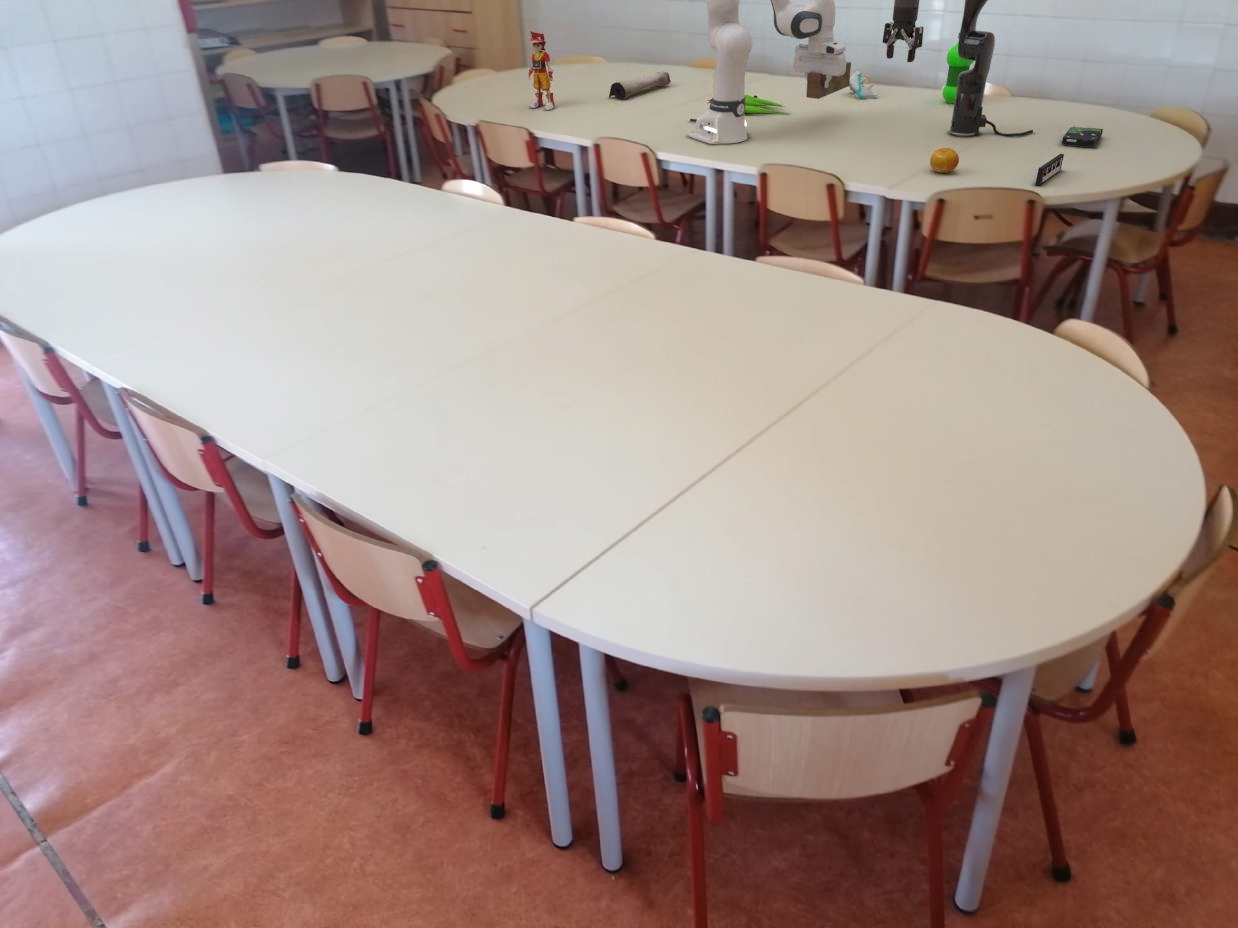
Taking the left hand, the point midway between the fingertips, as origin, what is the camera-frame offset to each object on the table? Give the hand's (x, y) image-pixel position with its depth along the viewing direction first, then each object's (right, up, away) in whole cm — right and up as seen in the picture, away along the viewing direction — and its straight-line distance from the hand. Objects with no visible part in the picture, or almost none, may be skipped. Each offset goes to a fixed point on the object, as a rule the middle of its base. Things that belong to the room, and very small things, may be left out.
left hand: (817, 86), depth 329 cm
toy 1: (-106, +14, +54) cm, 119 cm away
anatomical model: (+27, +14, +43) cm, 52 cm away
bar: (+5, +1, +7) cm, 9 cm away
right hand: (+18, -8, -40) cm, 44 cm away
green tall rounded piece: (+60, +5, +26) cm, 65 cm away
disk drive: (+84, -29, -26) cm, 92 cm away
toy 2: (-19, +3, +31) cm, 36 cm away
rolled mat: (-63, +26, +68) cm, 96 cm away
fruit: (+30, -46, -44) cm, 70 cm away
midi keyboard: (+59, -51, -55) cm, 95 cm away
